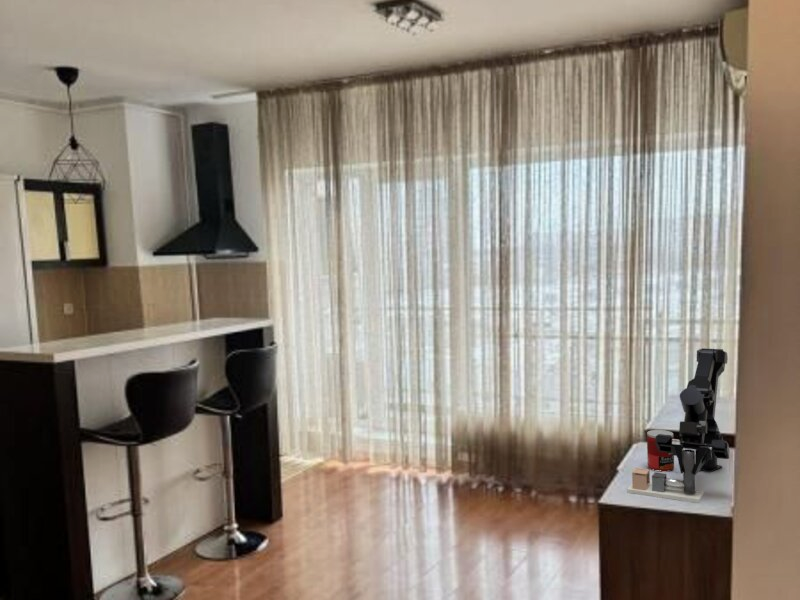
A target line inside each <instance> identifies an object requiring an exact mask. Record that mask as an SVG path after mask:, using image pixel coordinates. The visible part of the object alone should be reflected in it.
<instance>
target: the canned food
mask: <svg viewBox="0 0 800 600" xmlns="http://www.w3.org/2000/svg"><path fill="white" fill-rule="evenodd" d="M658 434H663V435H671V437H672V439H675V438H674V436H675V435H674V433H673V432H672V431H669V430H664V429H652V430H648V431H647V432H646V445H647V446H646V448H647V466H648V468H649V469H650V468H651V469H650V470H652V469H654V470H653V471H655V470H661V471H660V472H662V471H666V472H669V471H668V470H671V471H672V469H673V470H674V468H675V456H674V455H673V453H672V451H671V452H670V453H668V452H660V451H658V449H657V446H656V443H655V438H656V436H657V435H658Z"/></svg>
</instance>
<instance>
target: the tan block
mask: <svg viewBox="0 0 800 600" xmlns="http://www.w3.org/2000/svg"><path fill="white" fill-rule="evenodd" d="M650 470H651V469H650V468H649V469H647V468H641V467H640V468H639V467H635V468H634V469H633V471H632V472H631V475H632V477H631V478H632V479H631V480H632V482H631V484H632V487H633V489H640V490H647V489H648V487H649V486H650V484H651V483H650V482H651V481H650V480H651V477H650V475H651V471H650Z"/></svg>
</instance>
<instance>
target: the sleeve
mask: <svg viewBox="0 0 800 600" xmlns="http://www.w3.org/2000/svg"><path fill="white" fill-rule="evenodd" d="M667 476H668V475H667V473H663V472H654V473H653V474H652V475H651V484H652V491H658V492H665V490H666V489H667V487H668V486H666V485H664V478H668V477H667Z"/></svg>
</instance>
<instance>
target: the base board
mask: <svg viewBox="0 0 800 600" xmlns="http://www.w3.org/2000/svg"><path fill="white" fill-rule="evenodd" d="M626 492H627V493H629V494H636V495H642V496H648V497H656V498H662V497H663V499H670V500H675V501H676V500H677V501H683V502H690V503H697V504H699V503H700V502H701V500H702V498H703V496H704V491H702V490H701V491H700V490H695V493H694V494H687V493H684V488H681V487H673V486H667V489H666V490H665V492H658V491H652V483H650V486H649V487H648V489H647V490H640V489H633V487H632V483H631V484H630V485H629V486H628V487H627V489H626Z"/></svg>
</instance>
